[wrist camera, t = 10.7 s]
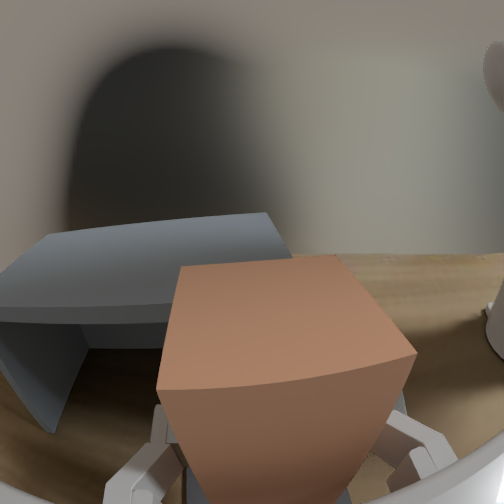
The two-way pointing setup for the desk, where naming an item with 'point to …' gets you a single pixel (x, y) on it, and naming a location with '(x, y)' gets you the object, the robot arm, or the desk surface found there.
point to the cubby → (107, 295)
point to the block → (278, 377)
